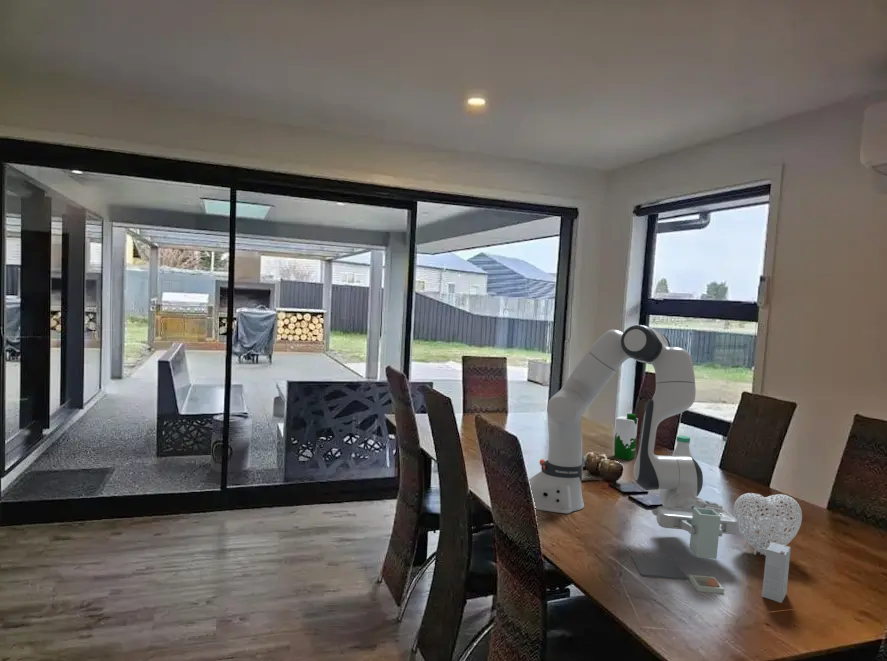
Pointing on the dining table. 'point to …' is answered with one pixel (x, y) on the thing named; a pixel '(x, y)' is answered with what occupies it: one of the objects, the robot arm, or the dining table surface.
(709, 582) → the terracotta ball
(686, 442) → the milk bottle
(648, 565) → the slate coaster
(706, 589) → the sage dish
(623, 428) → the milk carton
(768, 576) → the skincare box
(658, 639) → the dining table surface
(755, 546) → the decorative heart
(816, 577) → the dining table surface
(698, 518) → the celadon tumbler
